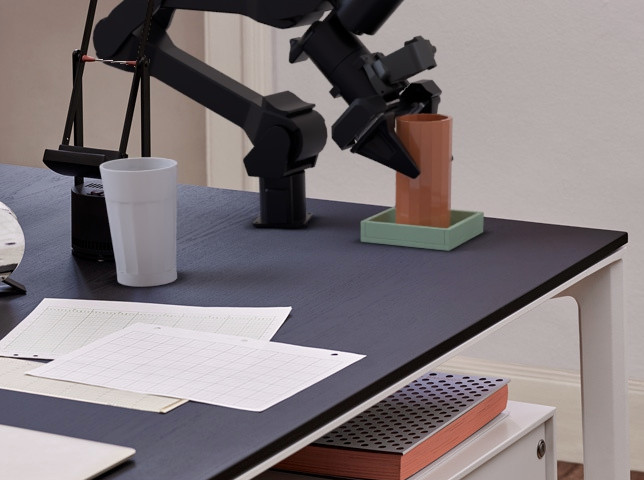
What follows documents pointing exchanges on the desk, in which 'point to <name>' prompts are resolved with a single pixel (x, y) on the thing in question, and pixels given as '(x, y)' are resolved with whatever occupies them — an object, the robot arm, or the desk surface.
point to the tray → (422, 230)
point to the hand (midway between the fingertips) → (434, 169)
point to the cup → (142, 218)
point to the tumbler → (425, 171)
